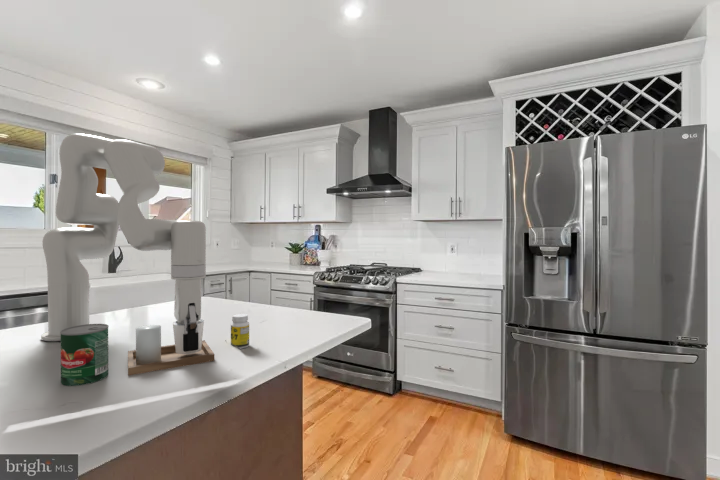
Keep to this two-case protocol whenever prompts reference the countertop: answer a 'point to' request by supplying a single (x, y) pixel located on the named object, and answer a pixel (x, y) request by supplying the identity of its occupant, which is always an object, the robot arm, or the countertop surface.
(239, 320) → the supplement bottle
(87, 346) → the canned tomato
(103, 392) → the countertop surface
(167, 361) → the walnut tray
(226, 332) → the countertop surface
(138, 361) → the white pillar candle
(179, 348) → the white tapered cup
